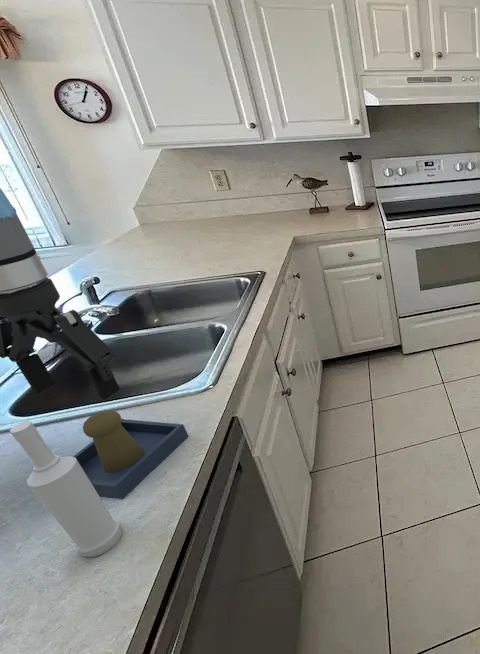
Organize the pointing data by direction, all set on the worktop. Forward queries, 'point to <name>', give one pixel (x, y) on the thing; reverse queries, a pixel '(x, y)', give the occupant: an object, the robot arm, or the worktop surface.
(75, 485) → the bottle
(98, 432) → the cork
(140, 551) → the worktop surface
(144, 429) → the tray
